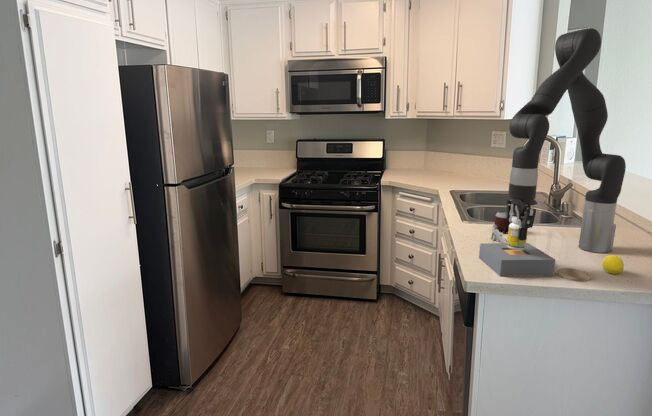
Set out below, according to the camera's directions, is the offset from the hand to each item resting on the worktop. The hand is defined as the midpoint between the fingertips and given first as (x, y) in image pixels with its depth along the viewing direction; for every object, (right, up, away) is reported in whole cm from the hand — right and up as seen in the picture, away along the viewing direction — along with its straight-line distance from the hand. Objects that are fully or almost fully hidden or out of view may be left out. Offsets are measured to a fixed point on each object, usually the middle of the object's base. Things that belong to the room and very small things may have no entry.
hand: (517, 236), depth 132 cm
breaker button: (0, -6, +1) cm, 7 cm away
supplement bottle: (0, -4, +1) cm, 4 cm away
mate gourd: (+12, -1, +40) cm, 42 cm away
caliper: (+4, -6, +21) cm, 22 cm away
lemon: (+27, -11, -3) cm, 29 cm away
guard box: (0, -9, +2) cm, 10 cm away
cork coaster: (+14, -11, -5) cm, 19 cm away
